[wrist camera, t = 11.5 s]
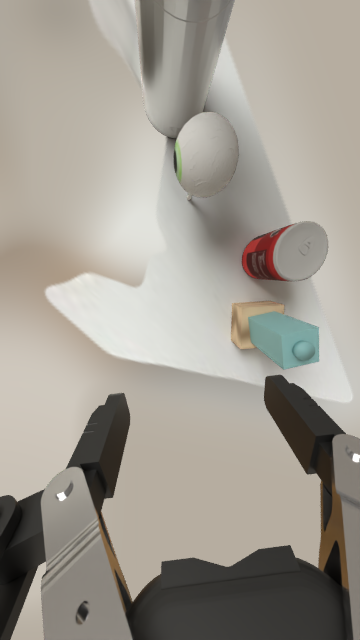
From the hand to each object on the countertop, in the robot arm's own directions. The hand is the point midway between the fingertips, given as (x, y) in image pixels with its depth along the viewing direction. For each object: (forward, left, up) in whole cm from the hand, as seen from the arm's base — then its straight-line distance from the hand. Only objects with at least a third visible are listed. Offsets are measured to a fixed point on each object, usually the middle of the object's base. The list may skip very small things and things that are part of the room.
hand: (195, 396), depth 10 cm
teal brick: (+8, +16, -22) cm, 28 cm away
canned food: (-4, +20, -27) cm, 34 cm away
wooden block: (+8, +16, -27) cm, 32 cm away
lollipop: (-17, +9, -27) cm, 33 cm away
